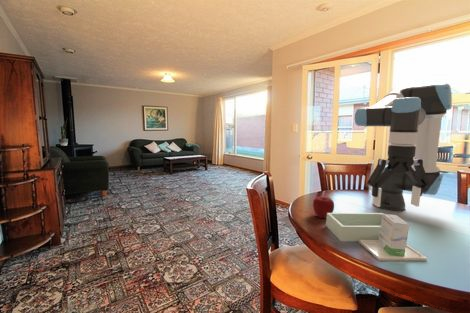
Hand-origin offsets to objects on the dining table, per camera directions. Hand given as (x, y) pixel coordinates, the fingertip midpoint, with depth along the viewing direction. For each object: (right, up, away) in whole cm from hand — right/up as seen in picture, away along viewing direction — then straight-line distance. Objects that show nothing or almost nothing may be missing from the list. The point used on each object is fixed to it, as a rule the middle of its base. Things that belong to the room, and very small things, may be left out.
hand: (395, 205), depth 80 cm
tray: (-1, -17, +2) cm, 17 cm away
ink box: (0, -17, +2) cm, 17 cm away
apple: (-13, -13, +33) cm, 37 cm away
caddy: (-3, -15, +16) cm, 22 cm away
